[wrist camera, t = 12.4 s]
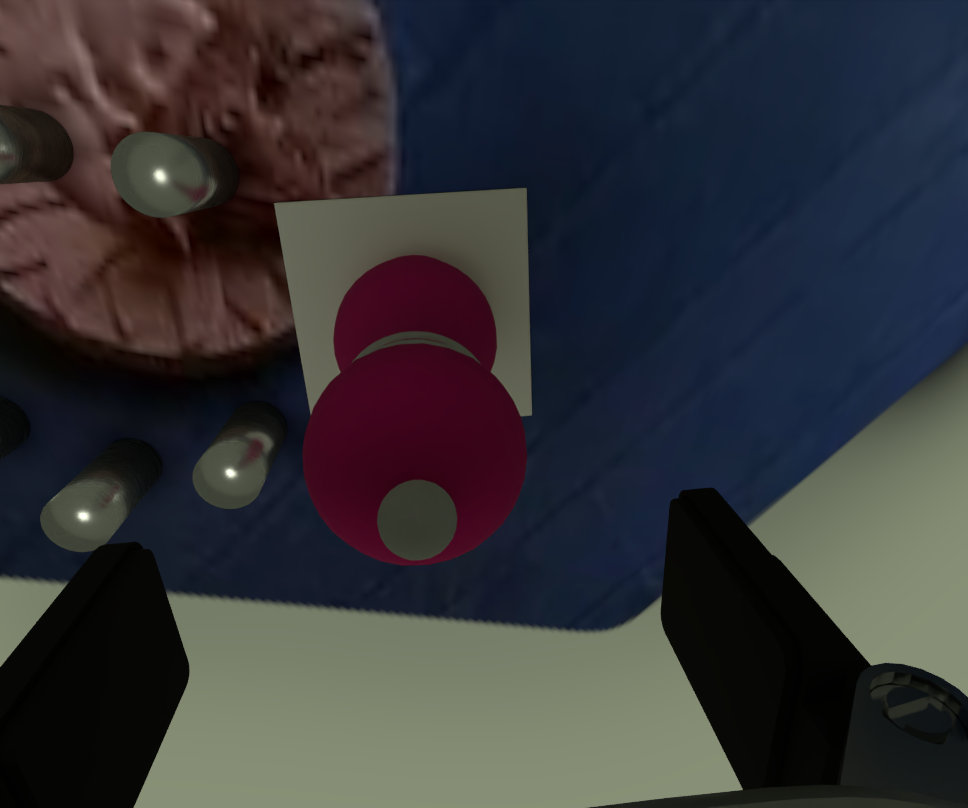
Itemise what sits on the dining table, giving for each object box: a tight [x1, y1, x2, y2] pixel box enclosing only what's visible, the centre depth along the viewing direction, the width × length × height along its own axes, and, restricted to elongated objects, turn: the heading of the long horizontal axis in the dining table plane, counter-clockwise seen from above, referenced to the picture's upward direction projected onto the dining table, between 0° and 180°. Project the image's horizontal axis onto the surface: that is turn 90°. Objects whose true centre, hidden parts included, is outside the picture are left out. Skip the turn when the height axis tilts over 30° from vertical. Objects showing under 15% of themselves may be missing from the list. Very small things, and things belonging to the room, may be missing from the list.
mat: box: [274, 188, 532, 416], centre depth 31 cm, size 12×12×1 cm
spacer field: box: [0, 105, 287, 552], centre depth 27 cm, size 16×19×6 cm
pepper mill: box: [303, 255, 527, 566], centre depth 22 cm, size 7×7×20 cm
